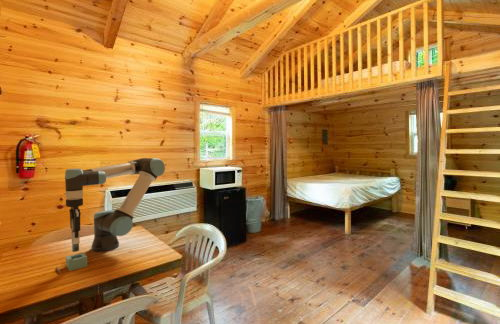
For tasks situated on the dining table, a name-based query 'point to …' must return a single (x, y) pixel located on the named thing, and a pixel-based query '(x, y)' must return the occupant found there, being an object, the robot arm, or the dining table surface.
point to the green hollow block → (76, 261)
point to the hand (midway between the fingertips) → (75, 242)
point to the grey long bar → (74, 246)
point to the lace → (58, 270)
